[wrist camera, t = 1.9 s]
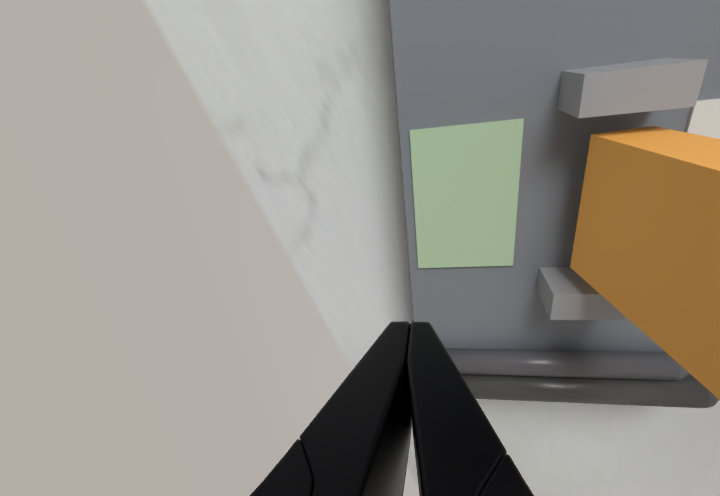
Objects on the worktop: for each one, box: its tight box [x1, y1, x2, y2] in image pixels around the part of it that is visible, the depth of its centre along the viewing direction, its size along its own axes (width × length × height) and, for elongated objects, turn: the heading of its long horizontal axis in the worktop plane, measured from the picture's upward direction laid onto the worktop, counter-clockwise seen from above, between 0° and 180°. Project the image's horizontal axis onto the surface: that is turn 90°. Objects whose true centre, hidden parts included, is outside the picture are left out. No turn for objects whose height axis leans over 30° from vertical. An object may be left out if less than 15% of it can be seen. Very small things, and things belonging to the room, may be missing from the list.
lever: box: [570, 126, 720, 400], centre depth 10 cm, size 2×5×6 cm, turn 7°
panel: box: [389, 0, 720, 408], centre depth 14 cm, size 14×22×5 cm, turn 7°
